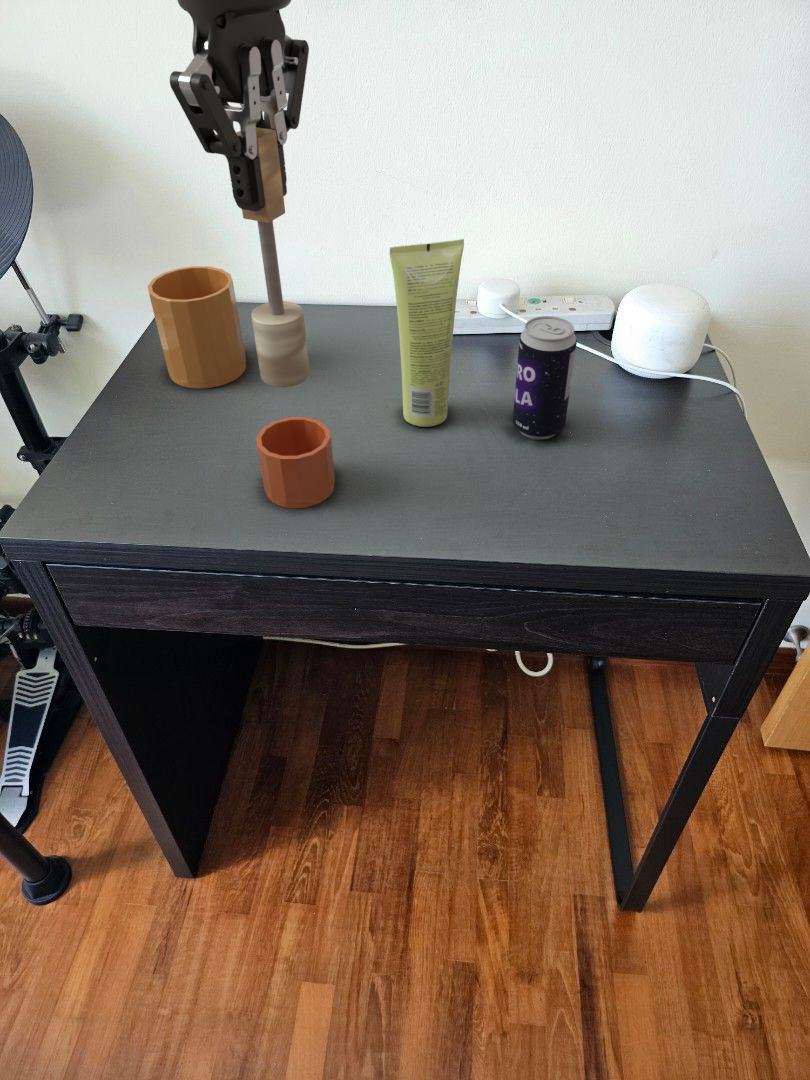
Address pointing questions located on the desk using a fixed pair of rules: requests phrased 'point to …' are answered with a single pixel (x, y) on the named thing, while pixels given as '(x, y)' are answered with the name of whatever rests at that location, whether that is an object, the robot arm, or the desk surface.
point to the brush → (275, 283)
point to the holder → (296, 462)
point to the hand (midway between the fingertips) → (262, 201)
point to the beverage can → (544, 376)
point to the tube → (426, 325)
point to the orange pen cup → (198, 326)
